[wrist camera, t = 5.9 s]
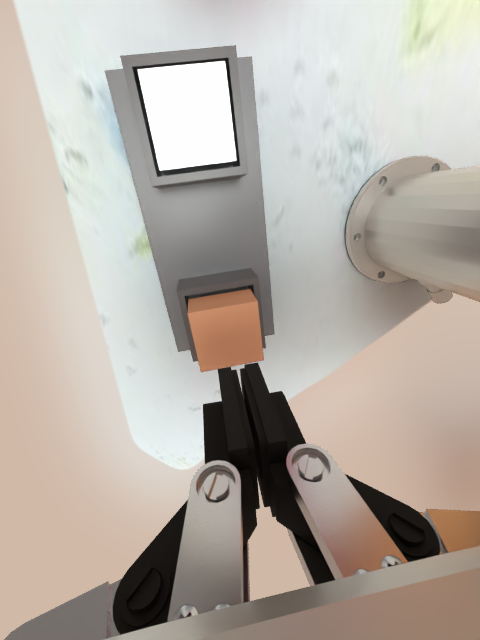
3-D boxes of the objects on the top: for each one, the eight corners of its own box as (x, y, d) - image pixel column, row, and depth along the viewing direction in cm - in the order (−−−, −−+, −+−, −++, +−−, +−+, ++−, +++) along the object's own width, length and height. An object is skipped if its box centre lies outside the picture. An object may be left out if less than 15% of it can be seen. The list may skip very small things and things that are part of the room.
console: (265, 318, 31) (284, 351, 25) (180, 334, 31) (175, 371, 24) (242, 80, 22) (263, 26, 15) (120, 93, 21) (84, 42, 15)
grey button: (231, 166, 20) (236, 160, 17) (164, 174, 20) (159, 170, 17) (220, 82, 18) (225, 60, 15) (146, 89, 18) (137, 69, 15)
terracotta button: (256, 341, 24) (263, 360, 21) (200, 352, 23) (200, 372, 21) (250, 288, 22) (257, 301, 19) (188, 299, 21) (187, 313, 19)
